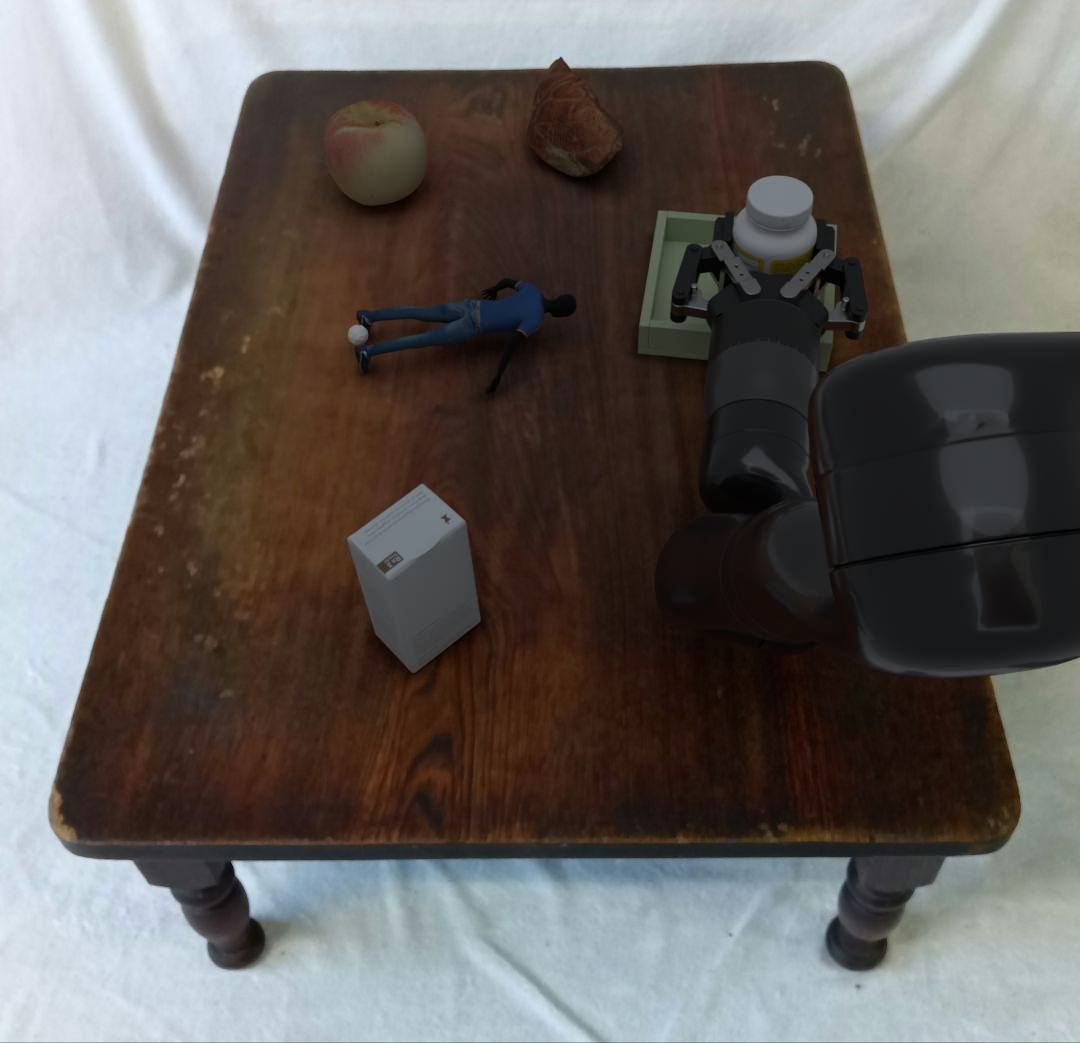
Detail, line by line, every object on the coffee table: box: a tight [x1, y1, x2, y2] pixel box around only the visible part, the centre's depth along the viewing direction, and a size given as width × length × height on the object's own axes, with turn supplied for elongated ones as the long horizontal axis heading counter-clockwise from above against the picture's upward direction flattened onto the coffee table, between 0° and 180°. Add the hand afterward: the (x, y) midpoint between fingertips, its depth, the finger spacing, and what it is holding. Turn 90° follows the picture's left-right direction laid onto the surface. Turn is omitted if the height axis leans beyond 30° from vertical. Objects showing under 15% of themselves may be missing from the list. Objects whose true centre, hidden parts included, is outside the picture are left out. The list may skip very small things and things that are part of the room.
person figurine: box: [347, 277, 578, 396], centre depth 93 cm, size 11×4×18 cm
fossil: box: [525, 56, 626, 178], centre depth 106 cm, size 13×8×10 cm
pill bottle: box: [731, 175, 817, 277], centre depth 89 cm, size 6×6×11 cm
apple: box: [322, 99, 429, 207], centre depth 103 cm, size 9×9×8 cm
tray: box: [637, 209, 838, 373], centre depth 95 cm, size 15×14×3 cm
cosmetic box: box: [346, 483, 482, 674], centre depth 74 cm, size 6×4×12 cm
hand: (773, 224), depth 90 cm, fingers closed on pill bottle, 6 cm apart
